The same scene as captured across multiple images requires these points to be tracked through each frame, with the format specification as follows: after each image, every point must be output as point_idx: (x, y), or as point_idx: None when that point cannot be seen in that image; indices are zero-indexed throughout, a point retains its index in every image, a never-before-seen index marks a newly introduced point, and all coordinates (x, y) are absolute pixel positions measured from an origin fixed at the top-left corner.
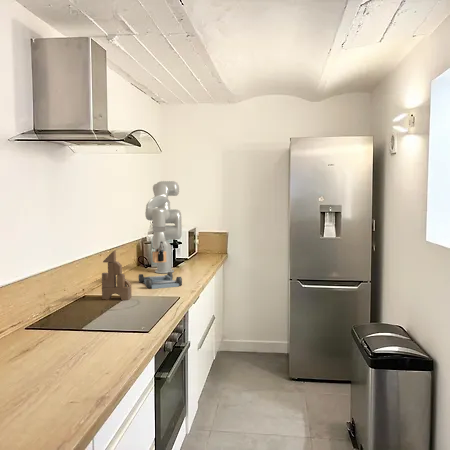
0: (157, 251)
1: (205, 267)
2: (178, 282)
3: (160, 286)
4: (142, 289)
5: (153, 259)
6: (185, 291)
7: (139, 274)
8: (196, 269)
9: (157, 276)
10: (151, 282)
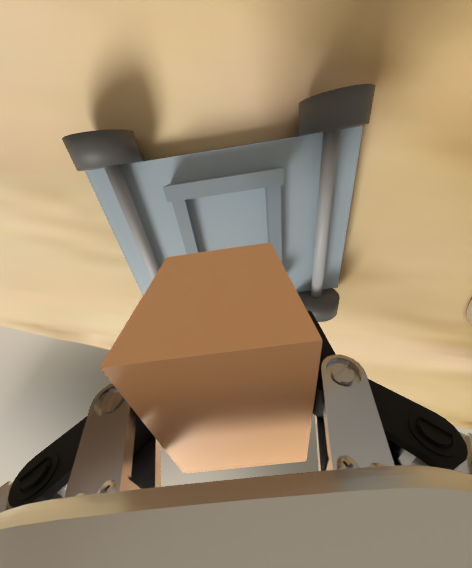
0: (297, 411)
1: (458, 408)
2: None
3: (113, 225)
4: (72, 95)
5: (224, 263)
6: (49, 310)
7: (350, 86)
8: (450, 387)
9: (318, 241)
10: (78, 170)
